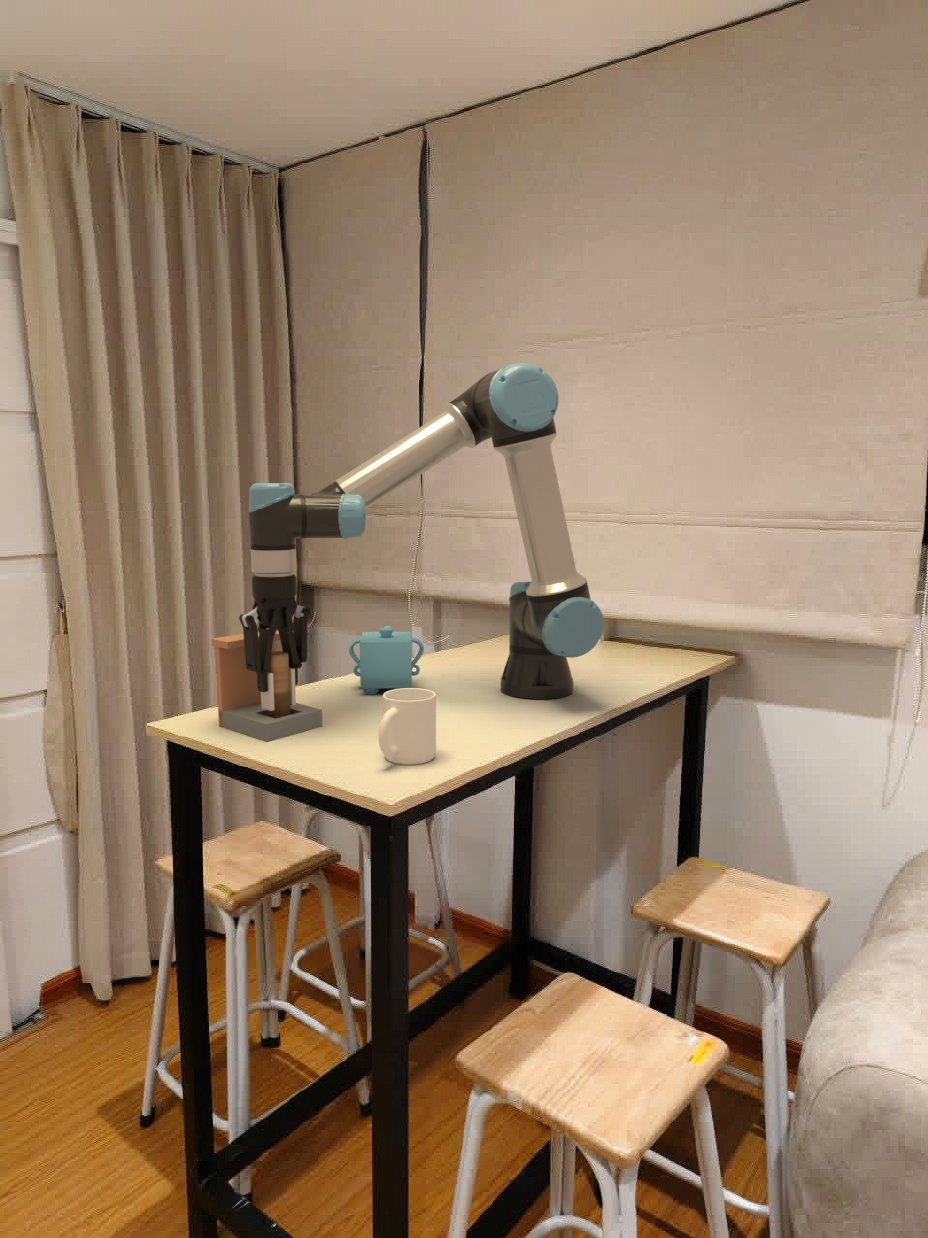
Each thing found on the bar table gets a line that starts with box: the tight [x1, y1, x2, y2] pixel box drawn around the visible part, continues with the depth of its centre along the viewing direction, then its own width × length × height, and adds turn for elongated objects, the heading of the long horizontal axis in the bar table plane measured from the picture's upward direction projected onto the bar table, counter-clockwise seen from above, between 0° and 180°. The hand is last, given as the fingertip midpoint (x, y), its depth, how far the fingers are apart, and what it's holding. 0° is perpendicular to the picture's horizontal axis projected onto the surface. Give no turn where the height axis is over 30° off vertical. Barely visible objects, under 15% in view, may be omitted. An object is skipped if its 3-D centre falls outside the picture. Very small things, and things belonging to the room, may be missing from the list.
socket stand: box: [211, 629, 323, 742], centre depth 151 cm, size 15×13×16 cm
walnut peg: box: [267, 650, 290, 719], centre depth 150 cm, size 4×4×13 cm
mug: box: [378, 687, 437, 766], centre depth 133 cm, size 12×8×10 cm
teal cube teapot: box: [348, 625, 425, 695], centre depth 181 cm, size 18×16×13 cm
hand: (278, 706), depth 150 cm, fingers closed on walnut peg, 4 cm apart
